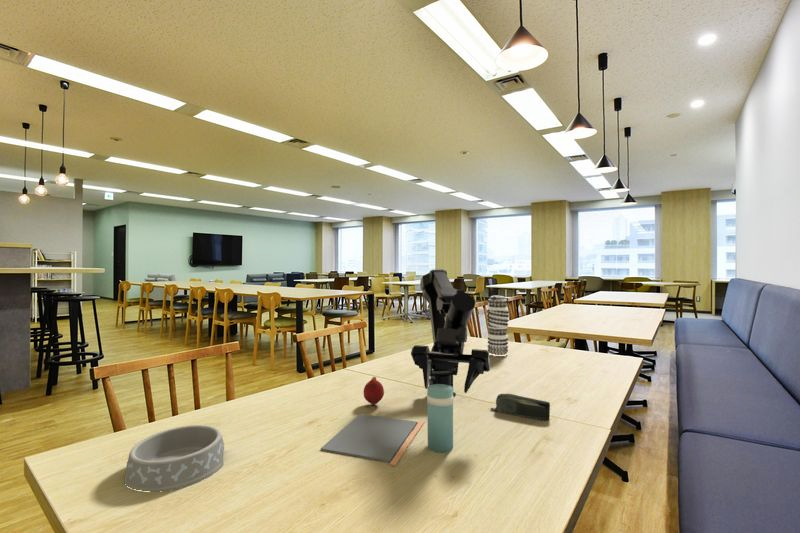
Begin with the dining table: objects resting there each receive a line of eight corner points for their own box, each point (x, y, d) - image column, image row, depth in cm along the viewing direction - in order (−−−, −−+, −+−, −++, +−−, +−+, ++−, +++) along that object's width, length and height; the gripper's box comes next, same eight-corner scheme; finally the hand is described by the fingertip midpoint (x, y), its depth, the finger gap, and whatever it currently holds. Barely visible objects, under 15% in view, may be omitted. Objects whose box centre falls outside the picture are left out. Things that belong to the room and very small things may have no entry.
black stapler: (550, 400, 103) (492, 390, 109) (549, 404, 100) (490, 393, 107) (549, 419, 103) (492, 407, 109) (548, 423, 100) (489, 411, 107)
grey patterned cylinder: (487, 356, 165) (487, 297, 165) (486, 351, 174) (486, 294, 174) (509, 357, 164) (510, 297, 163) (507, 352, 173) (507, 295, 172)
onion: (381, 409, 108) (380, 380, 108) (361, 408, 110) (360, 379, 109) (386, 402, 114) (385, 374, 114) (366, 400, 115) (366, 373, 115)
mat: (417, 423, 99) (417, 421, 99) (389, 462, 81) (389, 460, 81) (359, 415, 105) (359, 413, 105) (320, 450, 86) (320, 448, 86)
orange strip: (420, 421, 100) (420, 420, 100) (424, 422, 100) (424, 421, 100) (389, 465, 79) (389, 463, 79) (395, 466, 79) (395, 464, 79)
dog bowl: (115, 504, 68) (114, 473, 68) (137, 455, 85) (137, 430, 84) (224, 481, 75) (223, 453, 74) (224, 440, 91) (224, 417, 91)
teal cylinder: (445, 438, 91) (444, 382, 91) (458, 449, 86) (458, 390, 85) (422, 443, 89) (422, 386, 88) (435, 454, 84) (434, 394, 83)
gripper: (412, 313, 99) (398, 368, 89) (488, 316, 93) (483, 376, 83) (421, 338, 106) (409, 392, 96) (492, 342, 100) (487, 400, 90)
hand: (445, 390), depth 91 cm, fingers open, 9 cm apart
